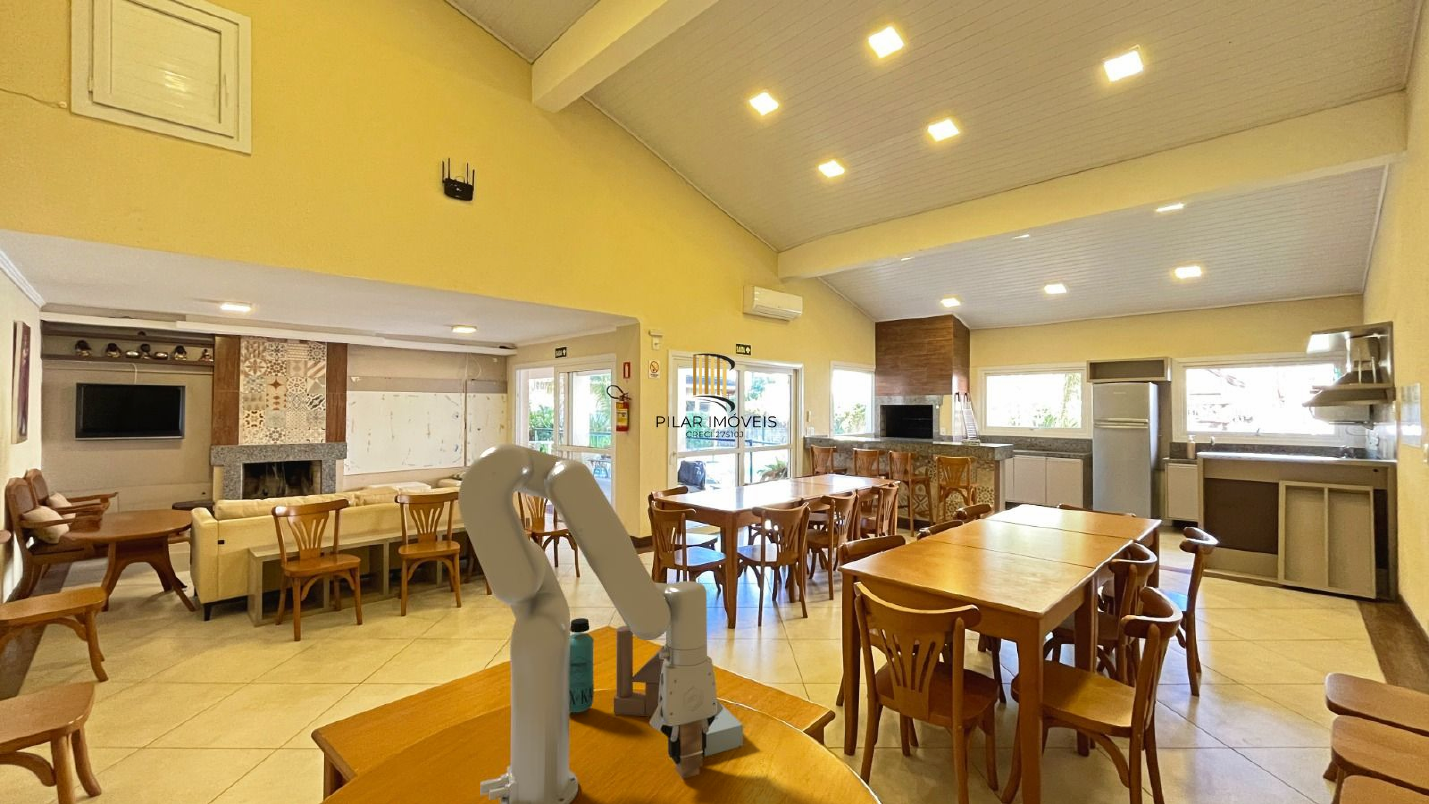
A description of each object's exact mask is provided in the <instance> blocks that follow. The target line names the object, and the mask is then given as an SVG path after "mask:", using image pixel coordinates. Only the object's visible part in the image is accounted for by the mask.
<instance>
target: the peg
mask: <svg viewBox="0 0 1429 804" xmlns="http://www.w3.org/2000/svg"><path fill="white" fill-rule="evenodd" d="M678 739H679V740H680V763H679V764H676V763H675V762H674V764H675V770H676V771H677V773H678V775H679V776H680V778H681V779H682V780H685V779H688V778H691V777H695V776H699V775H700V768H702V767H703V757H702V753H703V751H702V720H699V721H695V722H691V723H687V724H683V725H679V730H678Z"/></svg>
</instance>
